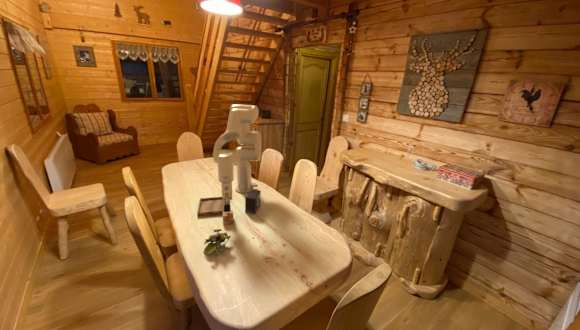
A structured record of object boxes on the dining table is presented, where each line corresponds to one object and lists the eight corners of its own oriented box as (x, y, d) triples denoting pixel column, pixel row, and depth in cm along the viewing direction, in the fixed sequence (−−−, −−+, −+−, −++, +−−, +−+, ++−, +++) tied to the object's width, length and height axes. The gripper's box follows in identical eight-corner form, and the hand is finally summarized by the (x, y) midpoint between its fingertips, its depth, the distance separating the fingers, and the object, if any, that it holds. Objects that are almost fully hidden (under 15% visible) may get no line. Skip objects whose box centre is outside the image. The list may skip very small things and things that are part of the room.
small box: (255, 214, 140) (255, 198, 136) (244, 212, 141) (244, 197, 137) (260, 205, 150) (261, 190, 146) (251, 204, 151) (251, 189, 147)
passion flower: (219, 253, 116) (231, 230, 117) (225, 264, 106) (238, 239, 108) (197, 246, 110) (210, 223, 111) (202, 258, 101) (215, 232, 102)
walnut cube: (233, 218, 135) (232, 210, 133) (233, 224, 130) (233, 215, 128) (223, 219, 133) (222, 211, 131) (223, 225, 128) (222, 216, 126)
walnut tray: (225, 199, 154) (225, 196, 154) (225, 214, 139) (225, 210, 138) (200, 201, 150) (199, 198, 150) (197, 216, 135) (197, 213, 134)
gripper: (234, 183, 115) (235, 214, 121) (232, 171, 131) (233, 199, 136) (218, 184, 113) (219, 215, 119) (218, 171, 129) (220, 200, 134)
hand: (227, 206), depth 128 cm, fingers open, 9 cm apart
